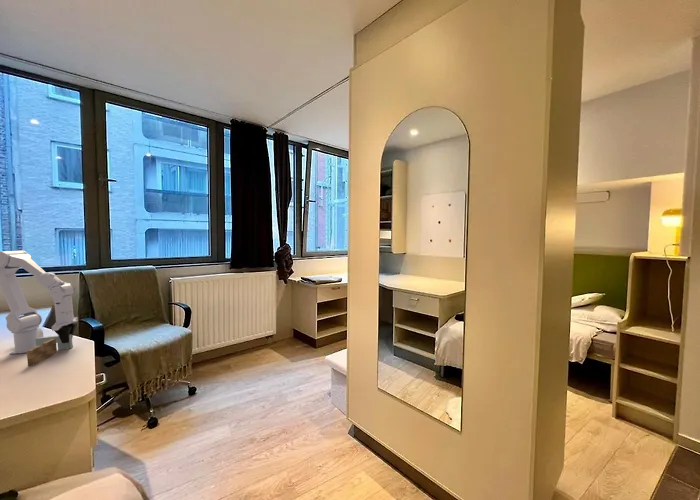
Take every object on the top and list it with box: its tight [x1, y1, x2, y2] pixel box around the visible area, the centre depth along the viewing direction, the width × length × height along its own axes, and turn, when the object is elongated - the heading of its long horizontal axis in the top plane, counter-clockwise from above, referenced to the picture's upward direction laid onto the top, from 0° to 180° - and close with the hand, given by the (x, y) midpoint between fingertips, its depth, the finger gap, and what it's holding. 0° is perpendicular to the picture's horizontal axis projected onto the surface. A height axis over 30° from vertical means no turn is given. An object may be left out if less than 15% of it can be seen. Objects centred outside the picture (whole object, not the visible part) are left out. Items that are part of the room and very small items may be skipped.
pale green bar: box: [36, 334, 74, 351], centre depth 133 cm, size 2×12×6 cm, turn 106°
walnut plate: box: [26, 339, 58, 367], centre depth 123 cm, size 14×2×6 cm, turn 16°
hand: (66, 341), depth 134 cm, fingers closed on pale green bar, 2 cm apart
